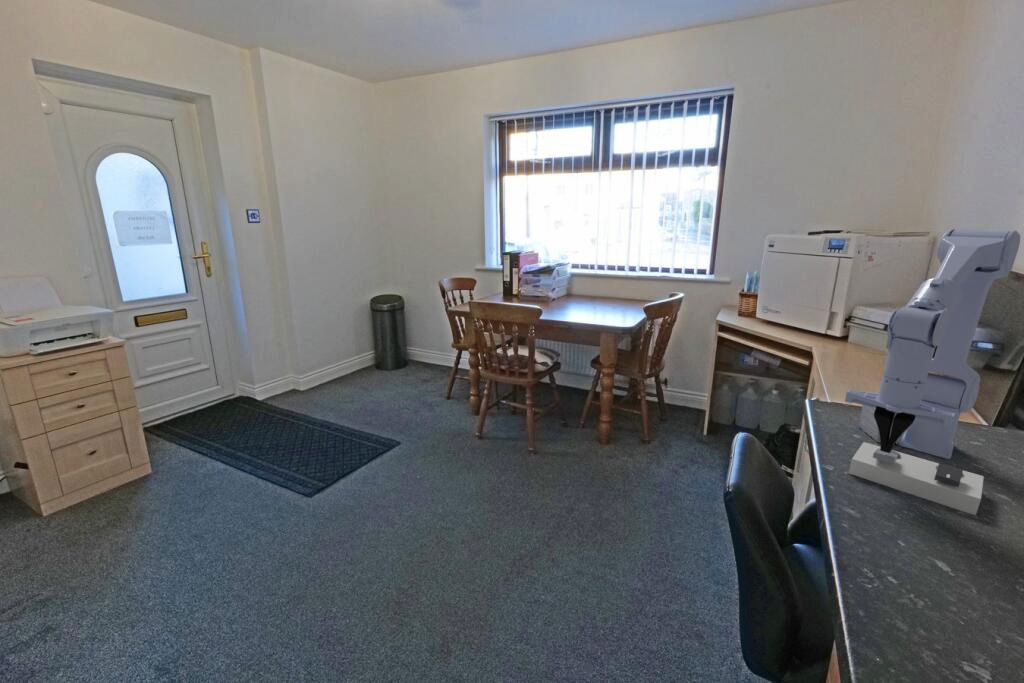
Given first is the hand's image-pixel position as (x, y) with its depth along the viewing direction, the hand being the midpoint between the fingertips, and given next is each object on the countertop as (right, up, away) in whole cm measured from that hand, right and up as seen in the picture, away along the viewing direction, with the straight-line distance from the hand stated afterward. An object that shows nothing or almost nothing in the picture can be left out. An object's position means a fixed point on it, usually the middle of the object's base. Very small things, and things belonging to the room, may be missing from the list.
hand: (886, 450), depth 82 cm
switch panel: (+5, -6, +1) cm, 8 cm away
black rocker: (+7, -3, -5) cm, 9 cm away
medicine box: (+14, -2, +19) cm, 24 cm away
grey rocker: (+1, -1, +1) cm, 2 cm away
